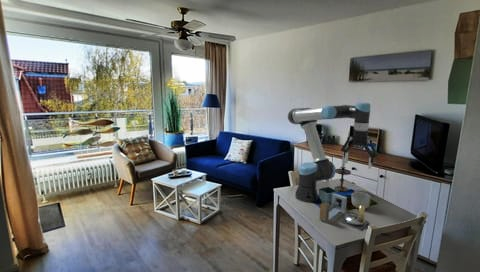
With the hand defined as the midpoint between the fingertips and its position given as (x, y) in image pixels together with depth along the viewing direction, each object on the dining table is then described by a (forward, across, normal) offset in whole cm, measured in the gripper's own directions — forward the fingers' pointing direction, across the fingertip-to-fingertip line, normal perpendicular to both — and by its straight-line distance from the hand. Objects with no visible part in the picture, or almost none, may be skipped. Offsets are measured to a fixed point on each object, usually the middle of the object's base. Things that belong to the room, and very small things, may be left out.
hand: (357, 165), depth 148 cm
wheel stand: (+29, +6, -13) cm, 32 cm away
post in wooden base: (+28, -7, -17) cm, 33 cm away
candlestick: (+29, -20, +26) cm, 44 cm away
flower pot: (+29, -16, -2) cm, 33 cm away
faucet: (+28, +6, -13) cm, 31 cm away
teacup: (+29, 0, +10) cm, 31 cm away
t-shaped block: (+29, -7, -14) cm, 33 cm away
